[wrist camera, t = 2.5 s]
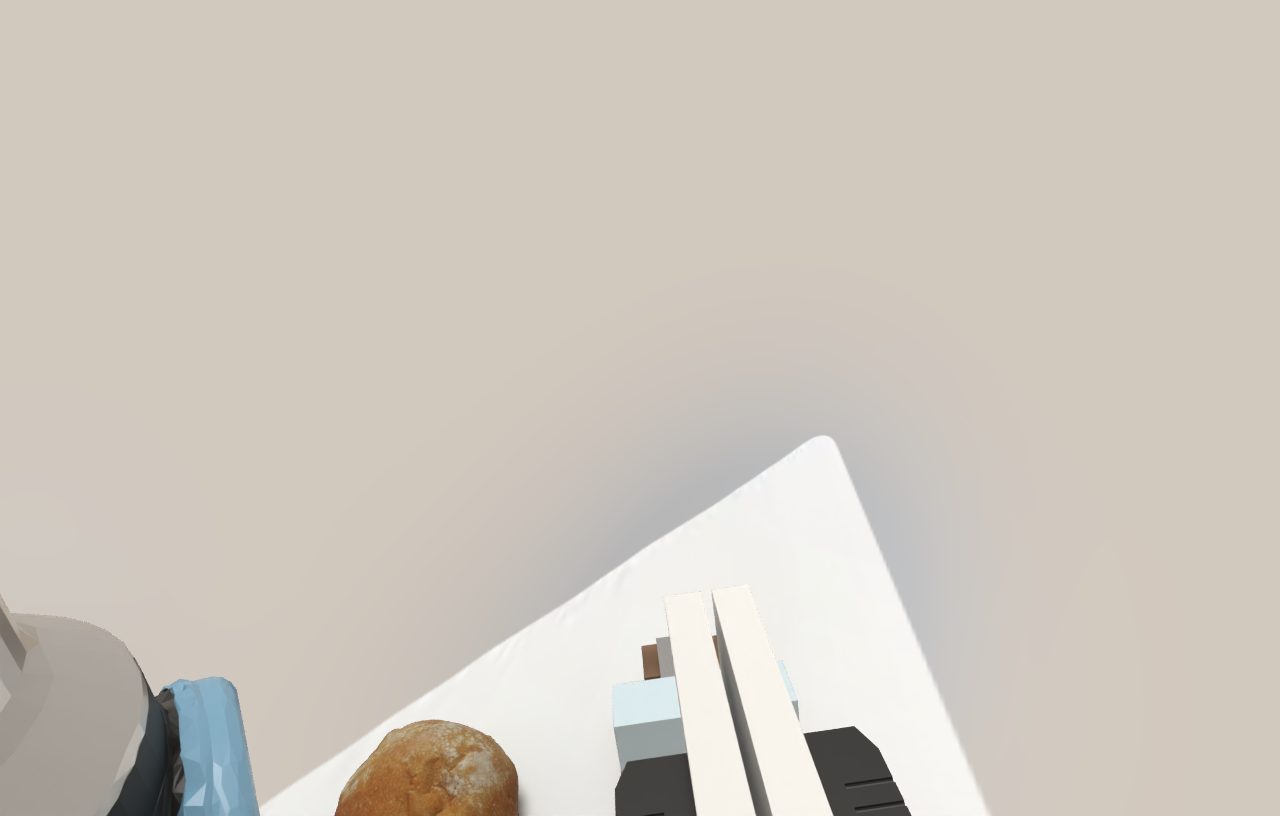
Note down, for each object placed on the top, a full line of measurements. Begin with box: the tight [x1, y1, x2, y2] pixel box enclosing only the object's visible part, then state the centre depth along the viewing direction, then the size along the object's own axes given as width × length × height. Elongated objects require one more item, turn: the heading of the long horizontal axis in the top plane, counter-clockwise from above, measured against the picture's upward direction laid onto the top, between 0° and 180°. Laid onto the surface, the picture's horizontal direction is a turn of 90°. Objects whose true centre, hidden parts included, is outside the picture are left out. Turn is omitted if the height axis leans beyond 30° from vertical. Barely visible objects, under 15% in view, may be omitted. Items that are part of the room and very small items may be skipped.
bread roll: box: [335, 720, 519, 816], centre depth 39 cm, size 10×10×8 cm
